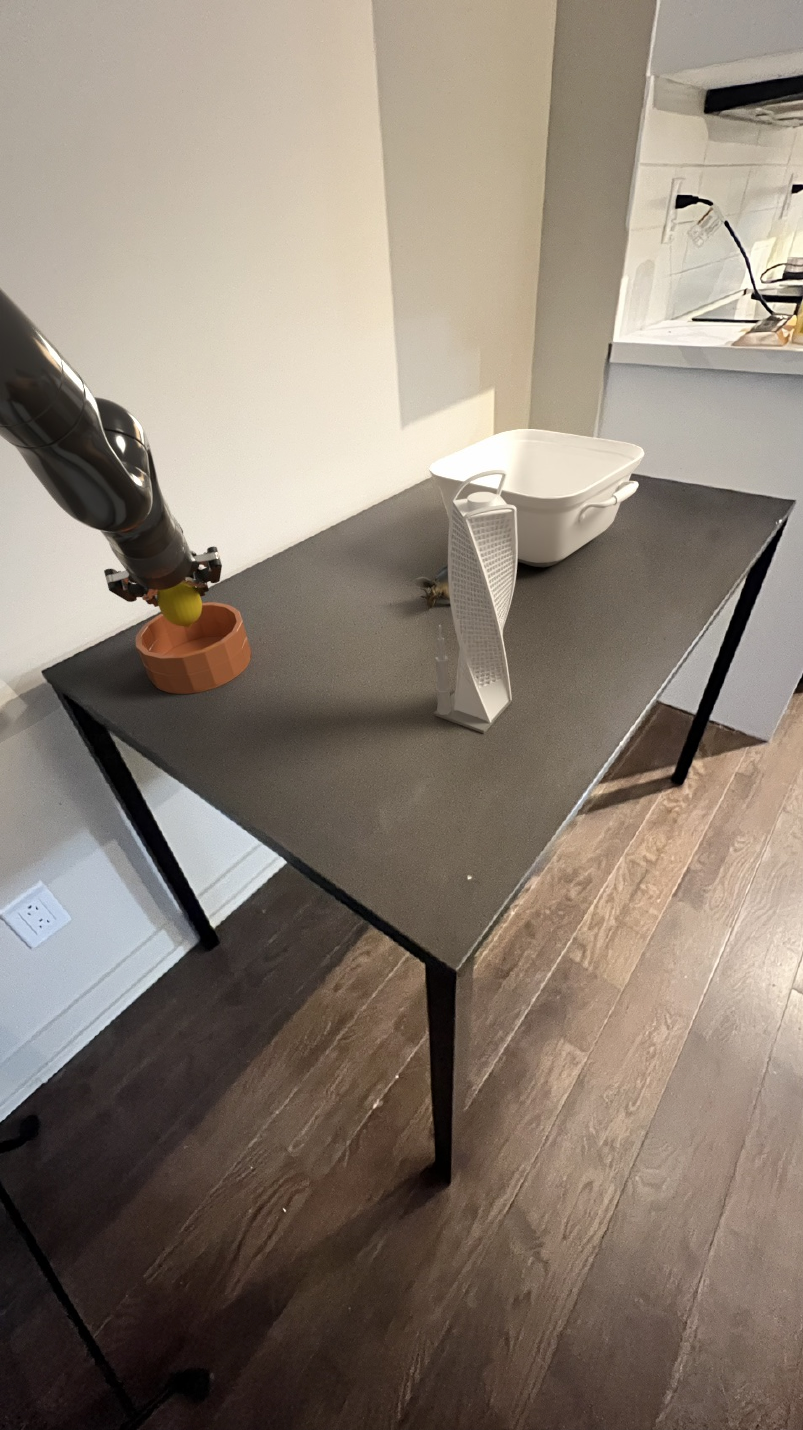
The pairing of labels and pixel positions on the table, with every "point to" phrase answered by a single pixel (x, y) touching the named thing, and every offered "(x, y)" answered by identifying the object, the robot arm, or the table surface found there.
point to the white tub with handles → (547, 486)
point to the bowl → (195, 650)
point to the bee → (435, 586)
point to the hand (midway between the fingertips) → (178, 594)
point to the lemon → (180, 604)
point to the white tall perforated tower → (478, 606)
